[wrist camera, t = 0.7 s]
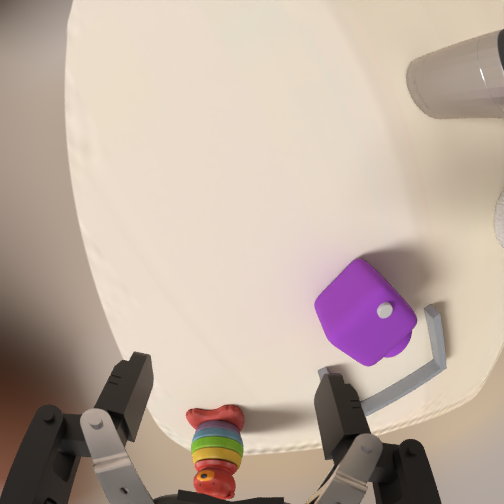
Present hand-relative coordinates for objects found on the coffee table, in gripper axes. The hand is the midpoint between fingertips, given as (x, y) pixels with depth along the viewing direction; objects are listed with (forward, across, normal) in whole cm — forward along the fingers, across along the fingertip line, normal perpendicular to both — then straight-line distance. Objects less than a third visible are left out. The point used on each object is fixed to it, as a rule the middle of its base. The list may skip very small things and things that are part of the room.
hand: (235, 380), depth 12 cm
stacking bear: (+23, +1, +38) cm, 45 cm away
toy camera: (+24, -18, +8) cm, 31 cm away
